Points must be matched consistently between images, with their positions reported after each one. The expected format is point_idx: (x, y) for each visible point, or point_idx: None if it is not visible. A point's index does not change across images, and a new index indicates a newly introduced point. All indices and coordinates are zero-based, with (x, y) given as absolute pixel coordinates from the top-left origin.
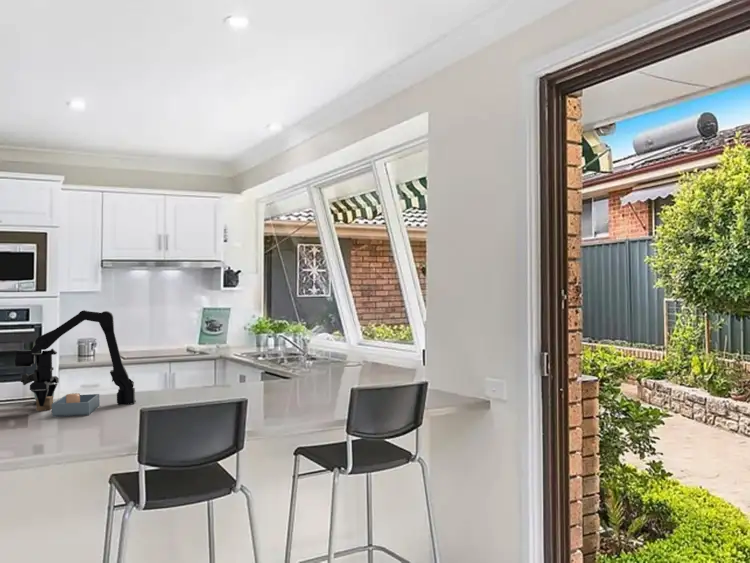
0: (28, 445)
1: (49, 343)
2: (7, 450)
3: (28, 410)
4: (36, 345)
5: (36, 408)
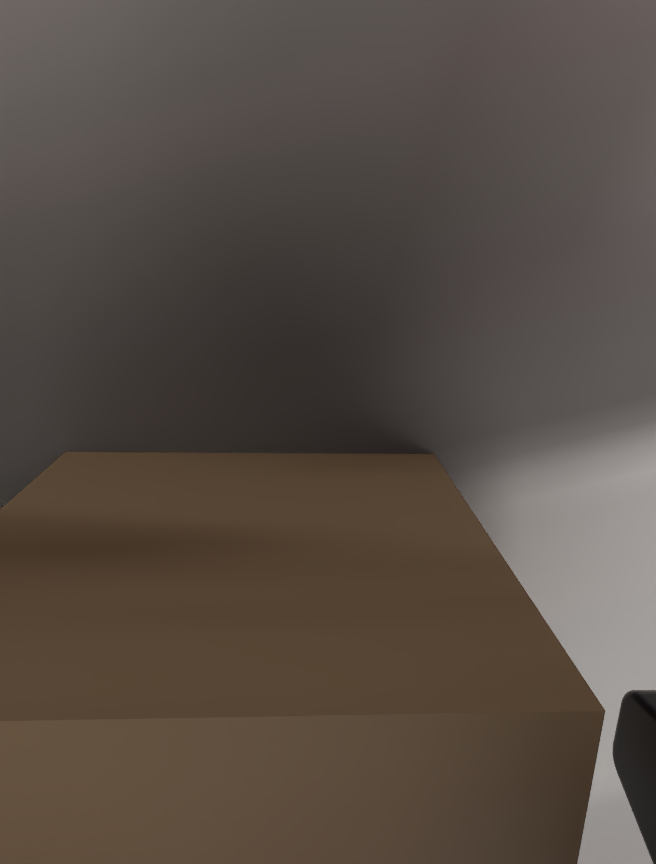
0: None
1: None
2: None
3: (206, 168)
4: None
5: (36, 478)
